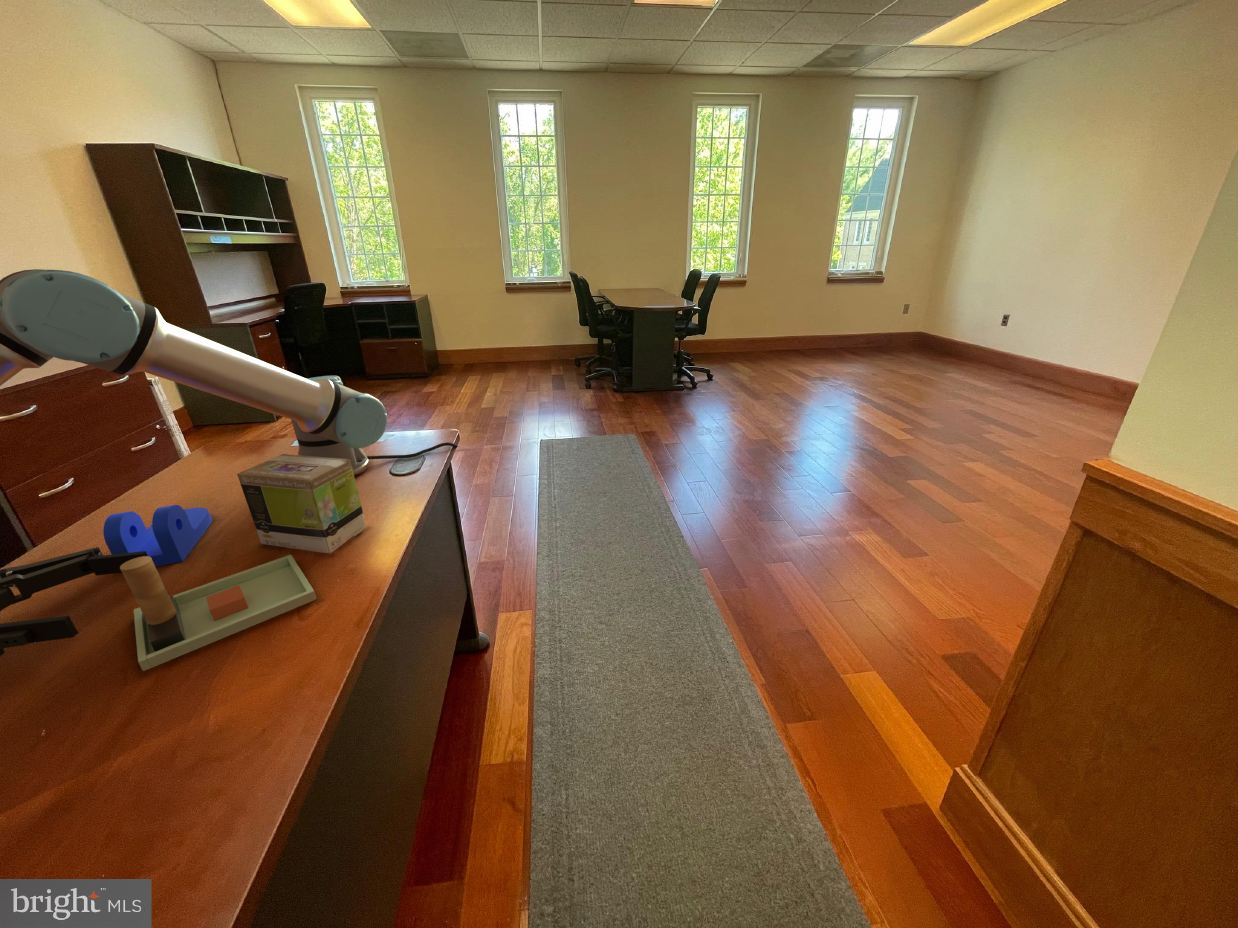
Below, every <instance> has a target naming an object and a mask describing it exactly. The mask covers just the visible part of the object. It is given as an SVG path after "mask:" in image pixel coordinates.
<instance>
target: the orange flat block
mask: <svg viewBox="0 0 1238 928" xmlns="http://www.w3.org/2000/svg"><path fill="white" fill-rule="evenodd" d="M206 599H207V602H208V606H209V609H210V612H211V614H212V616H213V619H214V621H216V620H219V619H221V618H224V617H226V616H229V615H232V614H234V613H237V612H239V611H242V610H244V609H247V608H248V606H247V603H246V600H245V598H244V595H243V593H242V591H241V588H240V586H239V585H238V586H236V587H233V588H230V589H227V590H225V591H222V592H219V593H216V594H214V595H211V596H208V597H206Z"/></svg>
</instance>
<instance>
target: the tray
mask: <svg viewBox="0 0 1238 928" xmlns="http://www.w3.org/2000/svg"><path fill="white" fill-rule="evenodd" d="M238 585H239V586H240V588H241V591H242V593H243V595H244V598H245V600H246V603H247V606H248V608H247V609H244V610H242V611H239V612H237V613H234V614H232V615H229V616H226V617H224V618H221V619H219V620H216V621H214V619H213V616H212V614H211V612H210V609H209V606H208V602H207V599H206V597H208V596H211V595H214V594H216V593H219V592H222V591H225V590H227V589H230V588H233V587H236V586H238ZM172 596H174V598H175V600H176V603H177V605H178V607H179V610H180V614H181V619H182V623H183V628H184V633H185V637H186V640H184V641H181V642H179V643H176V644H174V645H171V646H169V647H166V648H164V649H161V650H159V651H156V652H155V651H154V649H153V647H152V645H151V643H150V638H149V630H148V623H147V621H146V619H145V617H144V615H143V613H142V611H141V609H140V607H139V606H138V607H137V608H134V609H133V621H134V631H135V632H134V633H135V643H136V654H137V663H138V665H139V667H140V668H141V671H142V672H145V671H147V670H150V669H152V668H154V667H157V666H159V665H161V664H164V663H166V662H169V661H172V660H174V659H176V658H178V657H181V656H183V655H185V654H188V653H190V652H193V651H195V650H198V649H200V648H203V647H206V646H208V645H210V644H212V643H215V642H217V641H219V640H221V639H225V638H227V637H229V636H231V635H234V634H236V633H239V632H242V631H243V630H246V629H248V628H251V627H253V626H255V625H258V624H261V623H263V622H266V621H268V620H271V619H272V618H275V617H277V616H280V615H282V614H284V613H287V612H290V611H292V610H295V609H296V608H299V607H302V606H304V605H306V604H308V603H310V602H313V601H315V600H317V595H316V591H315V590H314V589H313V587H312V585H311V584H310V582H309V580H308V579H307V577H306V575H305V574H304V572H303V571H302V569H301V568H300V566H299V565H298V563H297V562H296V560H295V558H294V557H293V555H292V554H288V555H285V556H283V557H279V558H276V559H274V560H271V561H268V562H265V563H262V564H260V565H256V566H254V567H251V568H248V569H246V570H245V569H244V570H242V571H240V572H239V571H238V572H237V573H234V574H230V575H228V576H225V577H222V578H220V579H217V580H213V581H212V582H208V583H205V584H202V585H199V586H197V587H194V588H190V589H188V590H185V591H182V592H179V593H177V594H173V595H172Z"/></svg>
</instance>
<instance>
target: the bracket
mask: <svg viewBox="0 0 1238 928" xmlns="http://www.w3.org/2000/svg"><path fill="white" fill-rule="evenodd" d="M212 523H213V518H212V516H211V514H210V511H209V509H207V508H205V507H190V508H183V507H182V506H181V505H179V504H172V505H165V506H159V507H157V508H156V509H155V510H154V512H153V515H152V518H151V525H149V527H148V528H147V527H146V525H145V523H144V521H143V518H142V517H141V516H140V515H139V514H138V513H137V512H135V511H131V510H130V511H124V512H123V511H122V512H116V513H111V514H110V515H108V516H107V517H106V519H105V520H104V524H103V531H102V533H103V539H104V542H105V544H106V546H107V548H108V550H109V552H110V555H113V554H122V553H132V552H142V551H146V553H147V555H148V556H149V557H151V558H152V560H153V563H154V565H155V567H156V568H157V567H161V566H167V565H172V564H178V563H184V561H185V559H186V558H187V557H188V555H189V554H190V553H191V551H192V550H193V549H194V547H195V546H196V545H197V543H198V542H199V540H200V539H201V538H202V537H203V535H204V534H205V533H206V531H207V530H208V528H209V527H210V526H211V524H212Z"/></svg>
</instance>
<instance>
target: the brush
mask: <svg viewBox="0 0 1238 928" xmlns="http://www.w3.org/2000/svg"><path fill="white" fill-rule="evenodd" d="M120 569H121V571H122V573H121V574H122V576H123V577H124V579H125V581H126V584H127V585H128V587H129V589H130V591H131V593H132V595H133V597H134V600H135V601H136V603H137V605H138V608H139V607H140V609H141V611H142V613H143V615H144V617H145V619H146V621H147V623H148V630H149V638H150V643H151V645H152V647H153V649H154V651H155V652H156V651H159V650H161V649H164V648H166V647H169V646H171V645H174V644H176V643H179V642H181V641H184V640H186V637H185V633H184V628H183V623H182V619H181V614H180V610H179V607H178V605H177V603H176V600H175V598H174V596H173V595H169V593H168V590H167V588H166V586H165V584H164V582H163V580H162V577H161V575H160V574H159V571H158V568H157V566H156V567H155V565H154V563H153V560H152V558H151V557H149V556H143V557H138V558H134V559H131V560H129V561H127V562H125V563H123V564H122V565H121V566H120Z"/></svg>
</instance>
